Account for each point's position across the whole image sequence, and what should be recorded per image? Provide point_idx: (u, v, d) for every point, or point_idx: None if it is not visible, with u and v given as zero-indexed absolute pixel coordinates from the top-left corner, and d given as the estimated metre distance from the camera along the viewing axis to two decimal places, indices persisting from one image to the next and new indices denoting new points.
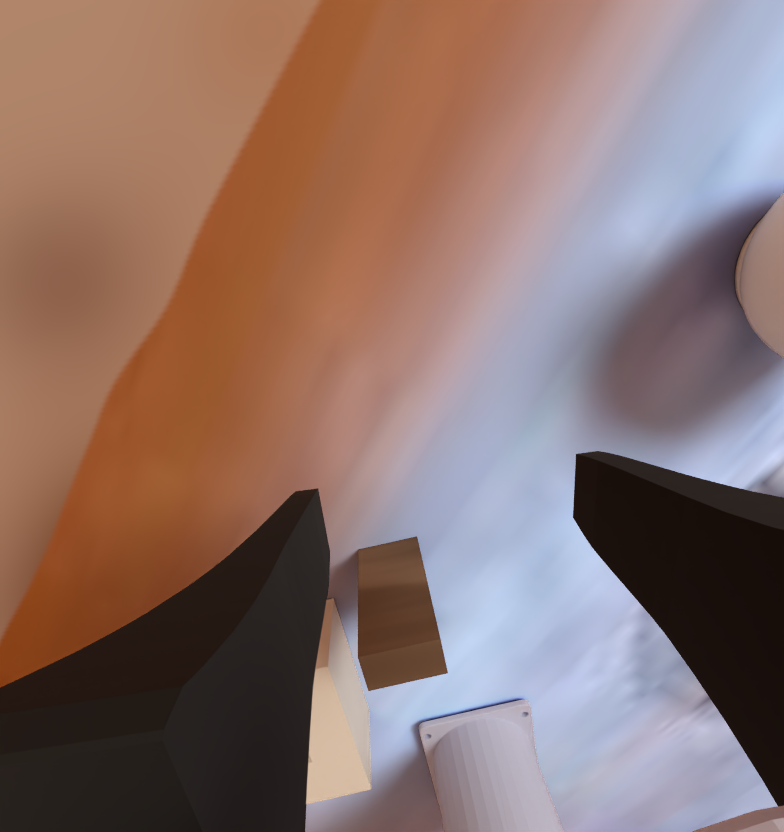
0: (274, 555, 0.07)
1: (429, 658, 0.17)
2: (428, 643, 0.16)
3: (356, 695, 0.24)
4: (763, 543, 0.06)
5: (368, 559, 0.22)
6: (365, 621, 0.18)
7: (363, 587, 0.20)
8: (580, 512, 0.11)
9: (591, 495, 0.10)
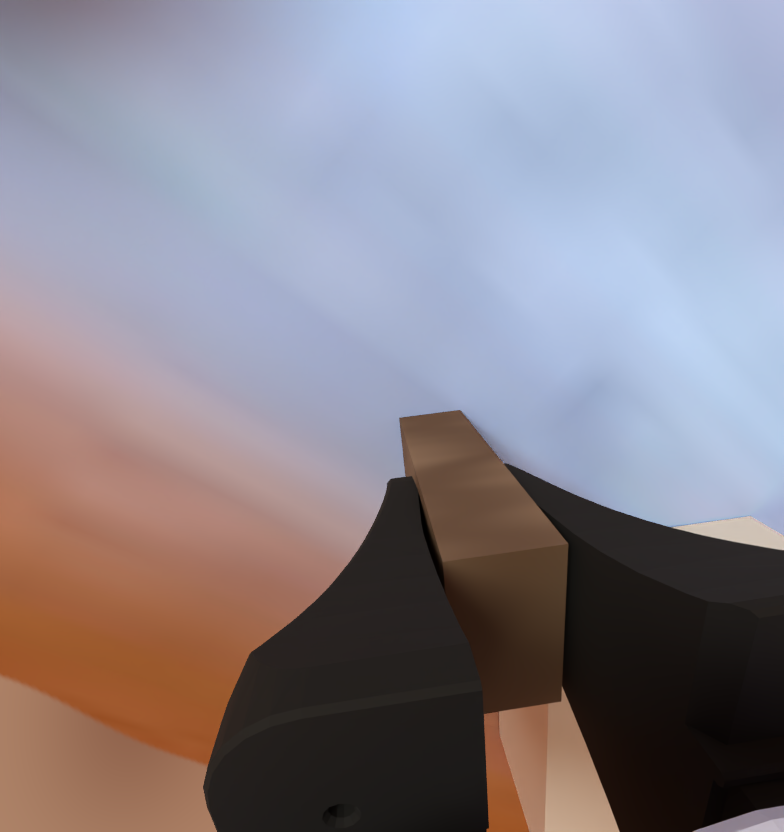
0: (417, 535, 0.07)
1: (502, 585, 0.06)
2: (452, 586, 0.06)
3: None
4: (596, 566, 0.06)
5: None
6: None
7: None
8: None
9: None
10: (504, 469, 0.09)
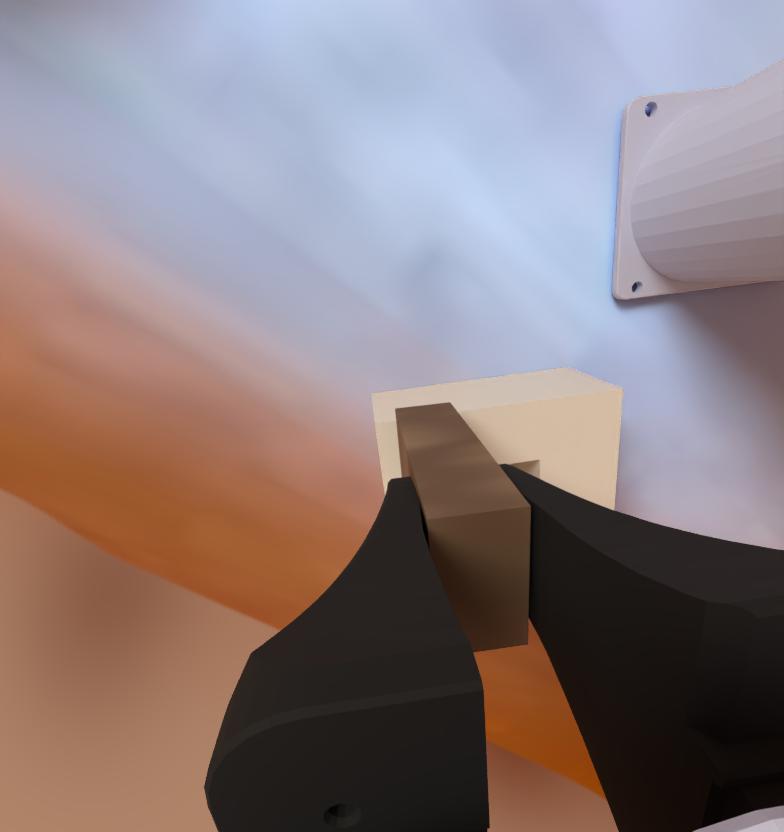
0: (418, 535, 0.07)
1: (476, 540, 0.08)
2: (435, 541, 0.08)
3: (503, 384, 0.18)
4: (596, 567, 0.06)
5: None
6: None
7: None
8: None
9: None
10: (484, 450, 0.10)
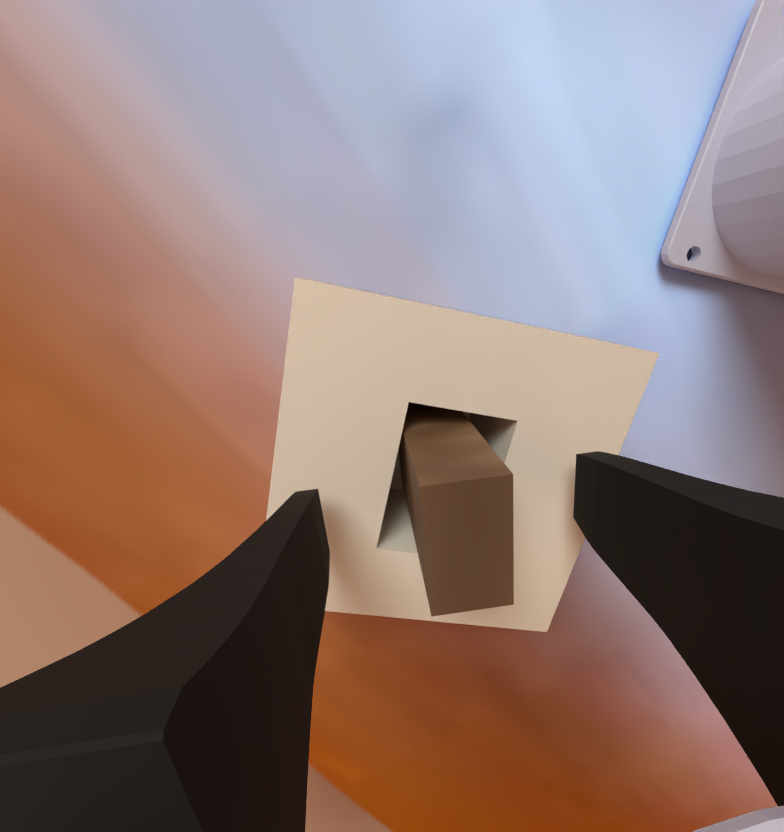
0: (274, 555, 0.07)
1: (465, 506, 0.08)
2: (427, 506, 0.08)
3: None
4: (762, 542, 0.06)
5: (403, 478, 0.15)
6: (420, 556, 0.11)
7: (410, 515, 0.13)
8: (580, 512, 0.11)
9: (591, 495, 0.10)
10: (474, 430, 0.11)
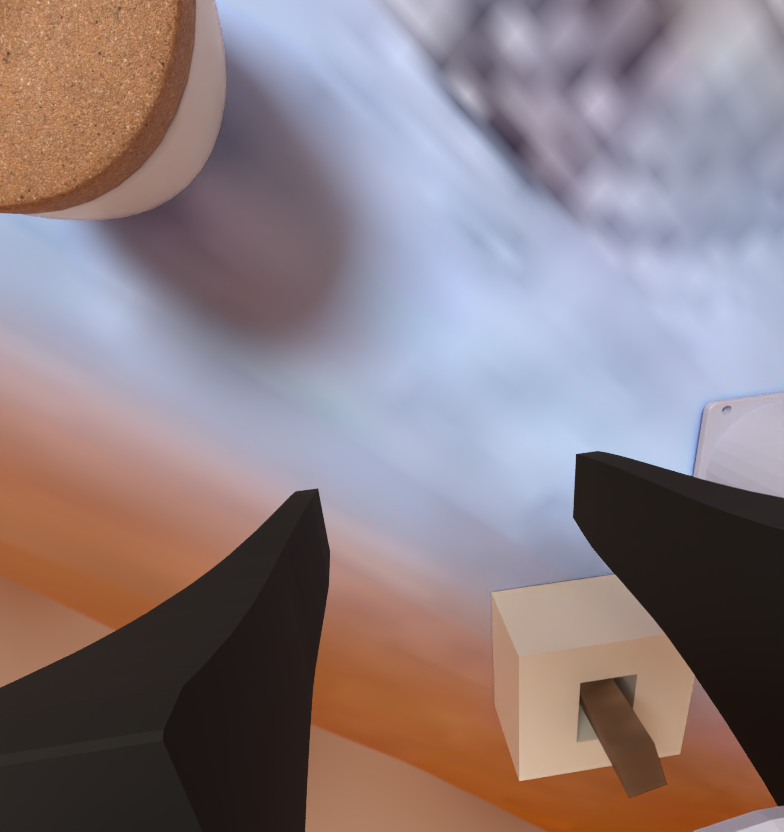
0: (274, 555, 0.07)
1: (635, 758, 0.19)
2: (619, 762, 0.19)
3: (601, 598, 0.23)
4: (762, 542, 0.06)
5: None
6: (607, 754, 0.21)
7: (586, 715, 0.23)
8: (580, 512, 0.11)
9: (591, 495, 0.10)
10: (617, 689, 0.21)
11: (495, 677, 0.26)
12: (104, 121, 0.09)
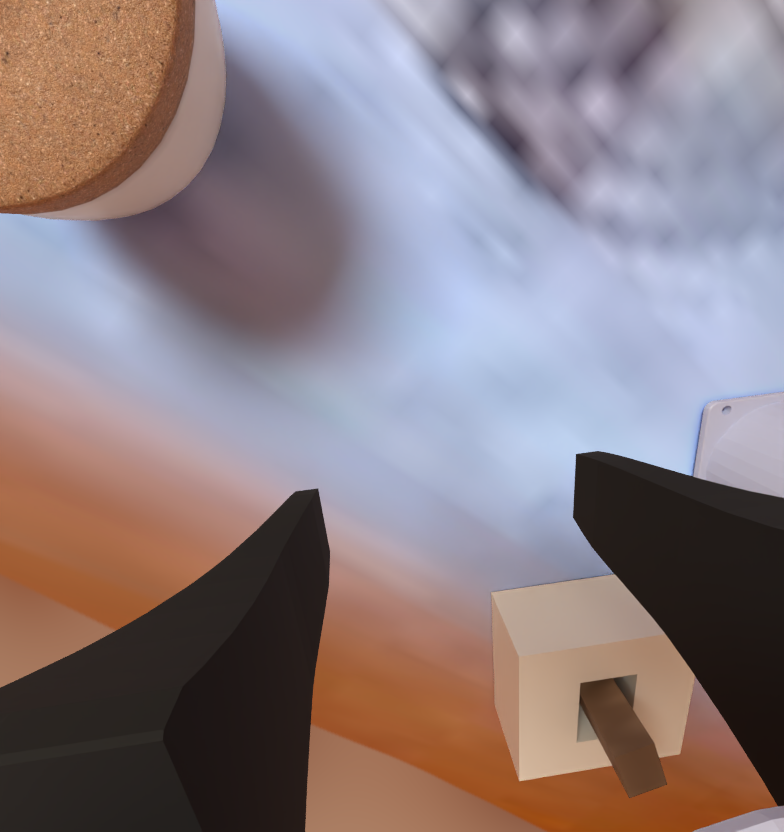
0: (274, 555, 0.07)
1: (635, 758, 0.19)
2: (619, 763, 0.19)
3: (601, 598, 0.23)
4: (762, 542, 0.06)
5: None
6: (607, 754, 0.21)
7: (586, 715, 0.23)
8: (580, 512, 0.11)
9: (591, 495, 0.10)
10: (618, 689, 0.21)
11: (495, 677, 0.26)
12: (103, 121, 0.09)
